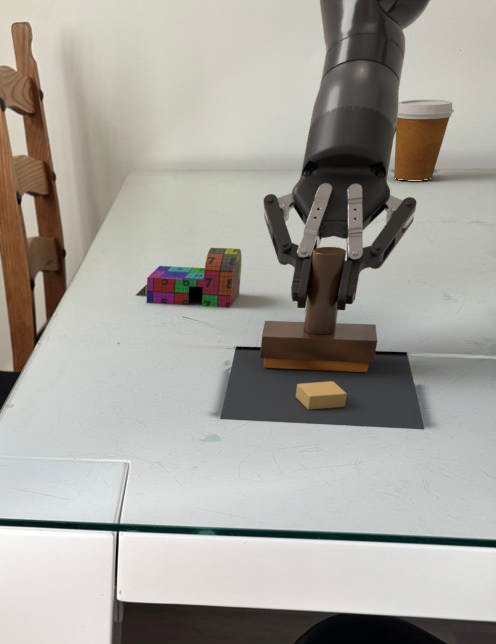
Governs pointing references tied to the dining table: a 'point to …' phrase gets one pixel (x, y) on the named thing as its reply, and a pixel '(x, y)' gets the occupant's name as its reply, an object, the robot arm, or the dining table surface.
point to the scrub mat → (361, 387)
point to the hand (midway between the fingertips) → (321, 303)
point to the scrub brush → (320, 327)
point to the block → (198, 281)
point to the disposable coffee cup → (419, 137)
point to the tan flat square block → (321, 395)
